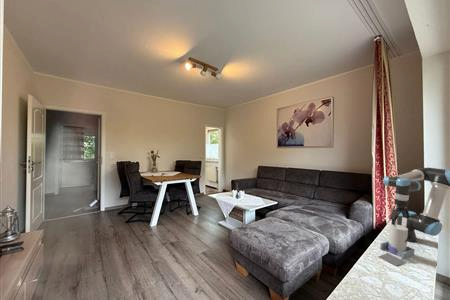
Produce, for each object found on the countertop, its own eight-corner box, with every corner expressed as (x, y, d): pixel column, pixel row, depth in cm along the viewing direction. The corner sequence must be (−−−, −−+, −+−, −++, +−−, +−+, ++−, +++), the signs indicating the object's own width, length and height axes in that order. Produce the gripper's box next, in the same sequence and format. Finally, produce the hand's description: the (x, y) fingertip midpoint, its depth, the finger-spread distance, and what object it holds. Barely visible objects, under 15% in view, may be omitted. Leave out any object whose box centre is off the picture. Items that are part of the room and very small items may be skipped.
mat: (387, 253, 147) (387, 253, 147) (405, 262, 137) (405, 261, 137) (378, 257, 143) (378, 256, 143) (396, 266, 133) (396, 265, 133)
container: (409, 257, 144) (411, 230, 142) (393, 255, 146) (395, 229, 144) (399, 249, 153) (402, 224, 152) (385, 248, 155) (387, 223, 154)
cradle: (391, 245, 159) (391, 239, 159) (414, 255, 146) (414, 249, 145) (380, 249, 153) (380, 243, 153) (402, 260, 140) (403, 253, 140)
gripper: (404, 196, 155) (402, 223, 156) (385, 199, 145) (382, 227, 146) (417, 199, 148) (414, 227, 149) (397, 202, 138) (394, 232, 140)
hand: (398, 227), depth 148 cm, fingers open, 13 cm apart
